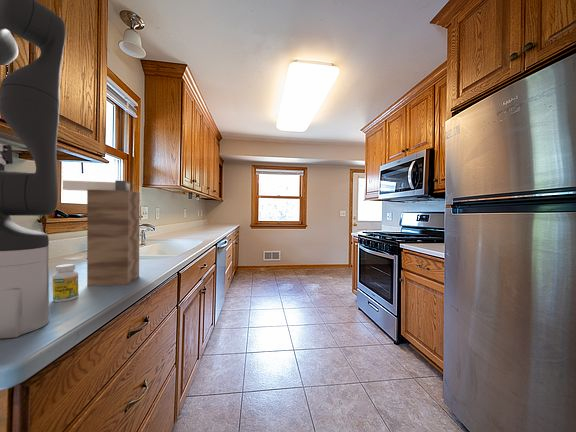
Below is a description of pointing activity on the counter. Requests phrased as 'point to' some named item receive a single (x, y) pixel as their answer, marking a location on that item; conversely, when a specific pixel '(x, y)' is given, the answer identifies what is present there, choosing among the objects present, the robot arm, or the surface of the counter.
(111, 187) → the white bar
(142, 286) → the counter surface
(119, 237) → the walnut stand
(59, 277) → the supplement bottle
